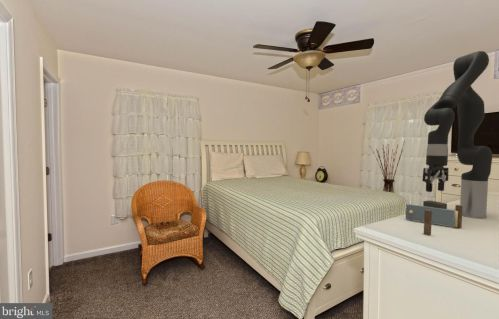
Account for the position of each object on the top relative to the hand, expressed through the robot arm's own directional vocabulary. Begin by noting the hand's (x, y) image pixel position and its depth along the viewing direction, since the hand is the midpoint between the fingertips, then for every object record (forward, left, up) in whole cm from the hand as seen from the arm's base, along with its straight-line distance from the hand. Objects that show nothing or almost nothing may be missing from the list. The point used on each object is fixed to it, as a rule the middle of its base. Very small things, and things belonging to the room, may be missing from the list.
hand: (434, 191), depth 107 cm
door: (+8, +3, -12) cm, 15 cm away
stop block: (0, 0, -13) cm, 13 cm away
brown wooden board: (+12, +10, -13) cm, 20 cm away
